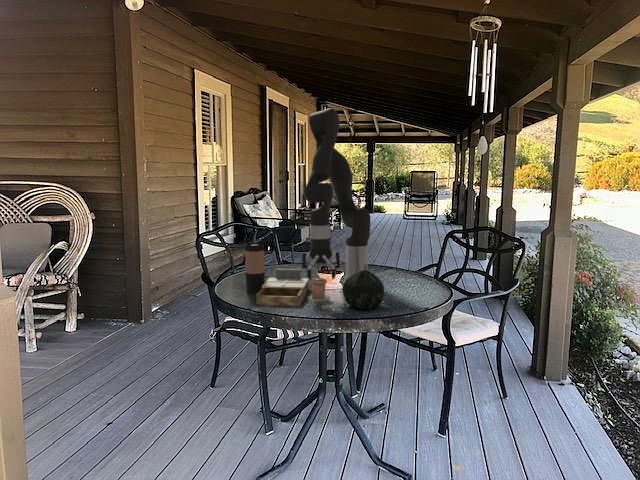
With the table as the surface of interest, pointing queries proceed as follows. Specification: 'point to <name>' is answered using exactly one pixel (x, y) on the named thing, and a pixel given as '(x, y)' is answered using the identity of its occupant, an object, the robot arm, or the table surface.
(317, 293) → the pot
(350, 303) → the squash
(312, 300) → the saucer
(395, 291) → the table surface
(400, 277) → the table surface
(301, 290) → the box
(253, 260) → the travel mug
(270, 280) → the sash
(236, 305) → the table surface
